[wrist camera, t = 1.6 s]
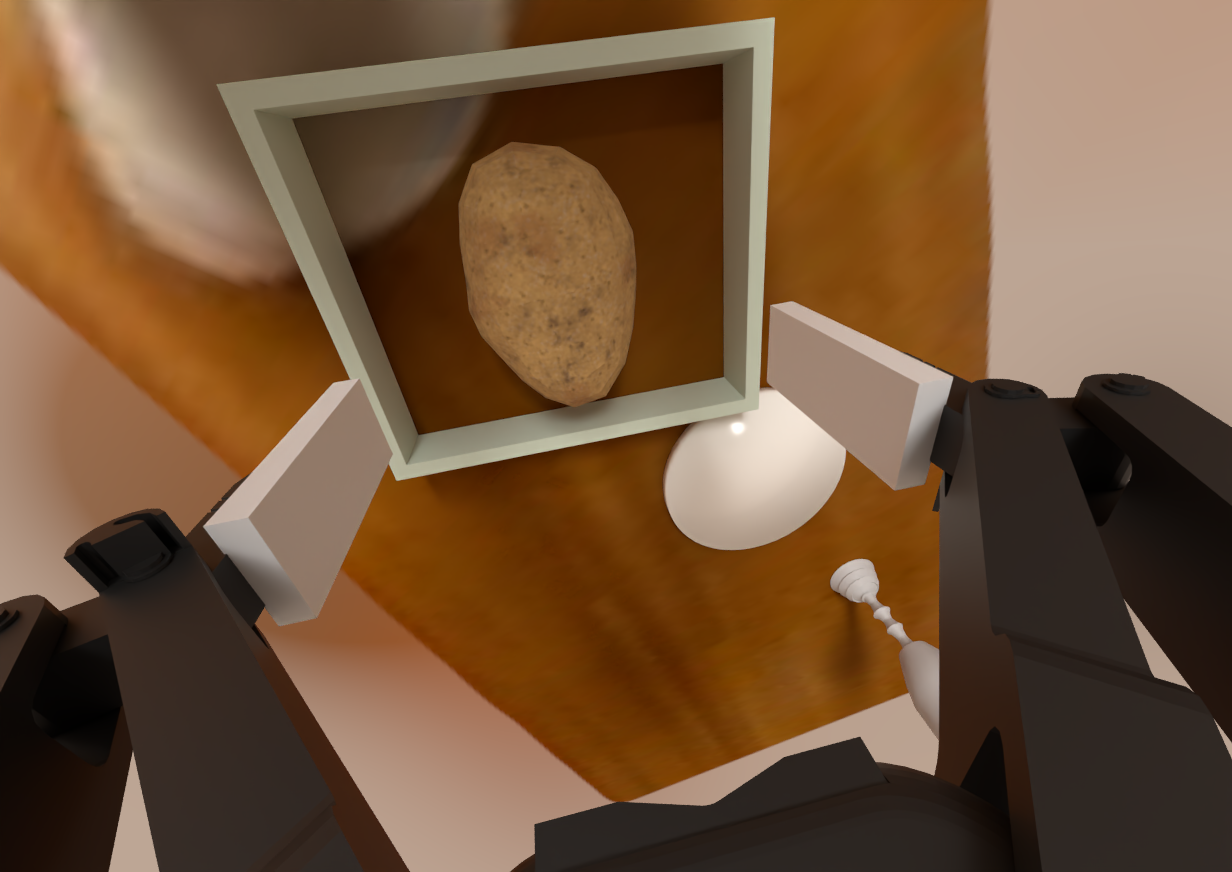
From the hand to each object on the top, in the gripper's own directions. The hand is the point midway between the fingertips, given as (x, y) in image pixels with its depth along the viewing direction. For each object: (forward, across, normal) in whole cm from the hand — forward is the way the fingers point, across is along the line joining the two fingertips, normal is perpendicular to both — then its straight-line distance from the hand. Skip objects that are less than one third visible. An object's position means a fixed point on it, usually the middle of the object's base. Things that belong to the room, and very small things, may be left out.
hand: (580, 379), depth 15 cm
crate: (+17, 0, 0) cm, 17 cm away
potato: (+17, 0, 0) cm, 17 cm away
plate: (+17, +14, -19) cm, 29 cm away
